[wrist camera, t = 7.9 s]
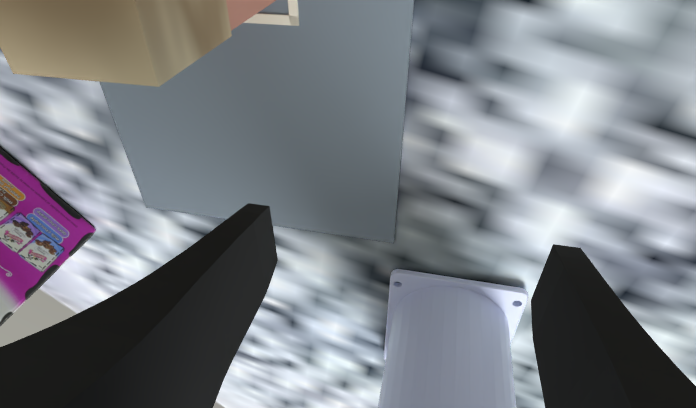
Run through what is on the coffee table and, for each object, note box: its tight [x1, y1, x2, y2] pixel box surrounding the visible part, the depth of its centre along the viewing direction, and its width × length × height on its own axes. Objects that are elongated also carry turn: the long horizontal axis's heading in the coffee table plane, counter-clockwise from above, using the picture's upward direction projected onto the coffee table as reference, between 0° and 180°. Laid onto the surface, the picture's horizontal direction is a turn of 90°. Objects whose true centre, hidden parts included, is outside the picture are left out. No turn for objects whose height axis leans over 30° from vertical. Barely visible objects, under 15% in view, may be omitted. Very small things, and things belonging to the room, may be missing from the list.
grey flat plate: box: [100, 0, 414, 243], centre depth 20 cm, size 20×16×1 cm
